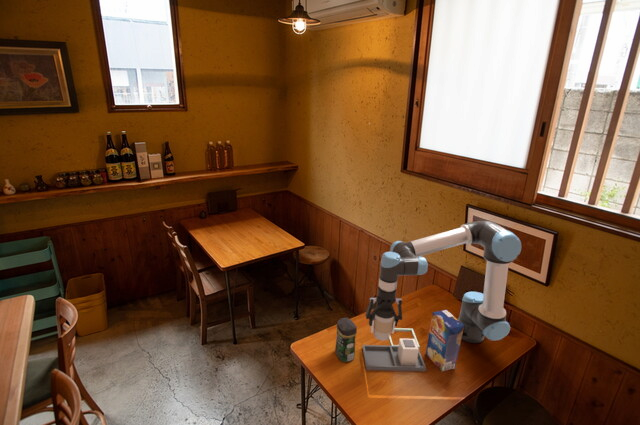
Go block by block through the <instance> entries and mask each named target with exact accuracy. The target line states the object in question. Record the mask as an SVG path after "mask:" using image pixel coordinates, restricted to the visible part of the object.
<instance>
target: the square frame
mask: <svg viewBox="0 0 640 425" xmlns="http://www.w3.org/2000/svg"><path fill="white" fill-rule="evenodd" d="M394 332H408V333H410V332H411V333H412V336H413V339H415V341H416V344H417V346H418V348H419V349H420V347H421V346H420V344H419V341H418V339H417V336H416V333H415V331H414V328H408V327H407V328H405V327H404V328H402V327H395V328H394ZM388 340H389V342H390V346H399V344H394V343H393V340H392V337H391V335H390V336H389V339H388Z"/></svg>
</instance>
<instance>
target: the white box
mask: <svg viewBox="0 0 640 425" xmlns="http://www.w3.org/2000/svg"><path fill="white" fill-rule="evenodd" d="M398 340H399V341H398V345H399V346H398V353H397V354H398V358H399V361H400V364H401V365H415V366H416V363H417V357H418V351H420V348H419V349H418V346H417V344H416V341H415V339H414V338H401V337H400V338H399V339H398Z"/></svg>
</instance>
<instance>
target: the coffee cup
mask: <svg viewBox="0 0 640 425" xmlns="http://www.w3.org/2000/svg"><path fill="white" fill-rule="evenodd" d="M373 310H374V311H375V309H374V308H373ZM394 311H395V309H394ZM394 313H396V311H395V312H393V310H391V309H390V307H382V308H381V309H380V310H378V311H377V312H376V313H375V317H374V329H373V337H374V338H375V340H376V339H377V340H378V341H381V342H382V341H383V342H384V341H388V340H390V339H389V336H391V329H392V324H393V320H394V315H395V314H394Z"/></svg>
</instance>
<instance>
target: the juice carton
mask: <svg viewBox="0 0 640 425" xmlns="http://www.w3.org/2000/svg"><path fill="white" fill-rule="evenodd" d="M457 319H458V318H456V316H454V315H453V314H452V313H451V312H450V311H449V310H447V309H442V310H437V311H433V312H432V315H431V320H430V325H429V332H428V337H427V344H426V350H425V354H426V356H427V357H428V359H430V360H431V361H432V362H433V364H434V365H435V366H436V367H437V368H438V369H439V370H440V372H445V371H448V370H449V371H450V370H454V371H455V370H456V366H457V361H458V357H459V352H460V347H461V342H462V339H461V338H462V333H463V329H464V325H463V324H462V323H461V322H460V321H459V320H457Z"/></svg>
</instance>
